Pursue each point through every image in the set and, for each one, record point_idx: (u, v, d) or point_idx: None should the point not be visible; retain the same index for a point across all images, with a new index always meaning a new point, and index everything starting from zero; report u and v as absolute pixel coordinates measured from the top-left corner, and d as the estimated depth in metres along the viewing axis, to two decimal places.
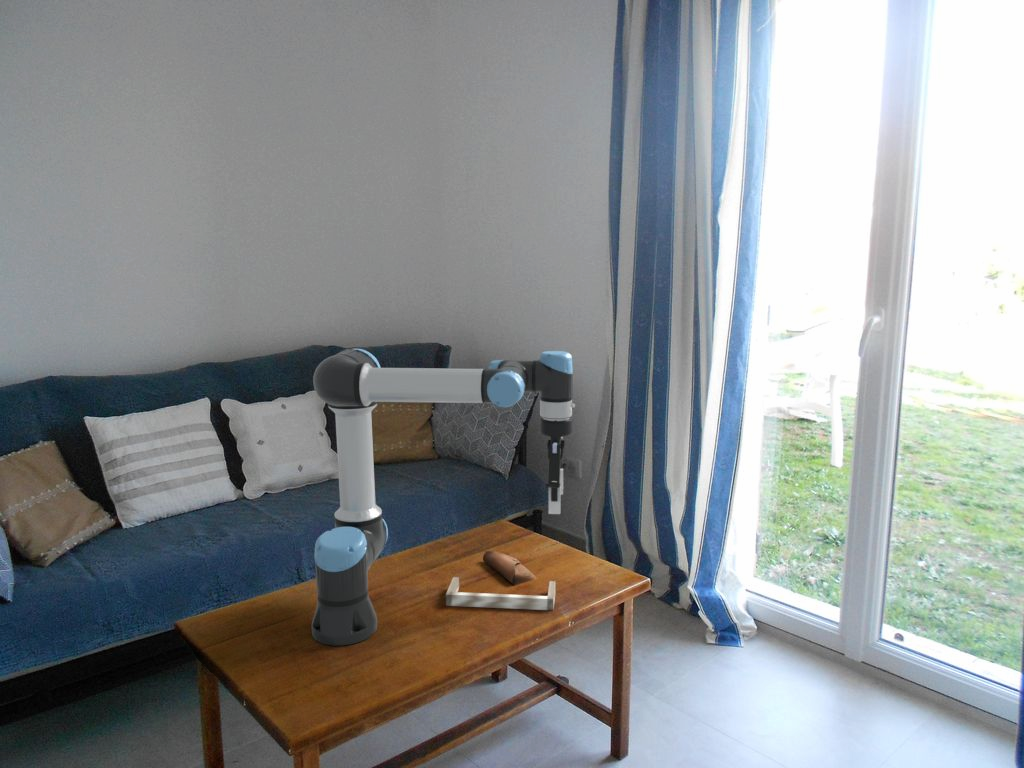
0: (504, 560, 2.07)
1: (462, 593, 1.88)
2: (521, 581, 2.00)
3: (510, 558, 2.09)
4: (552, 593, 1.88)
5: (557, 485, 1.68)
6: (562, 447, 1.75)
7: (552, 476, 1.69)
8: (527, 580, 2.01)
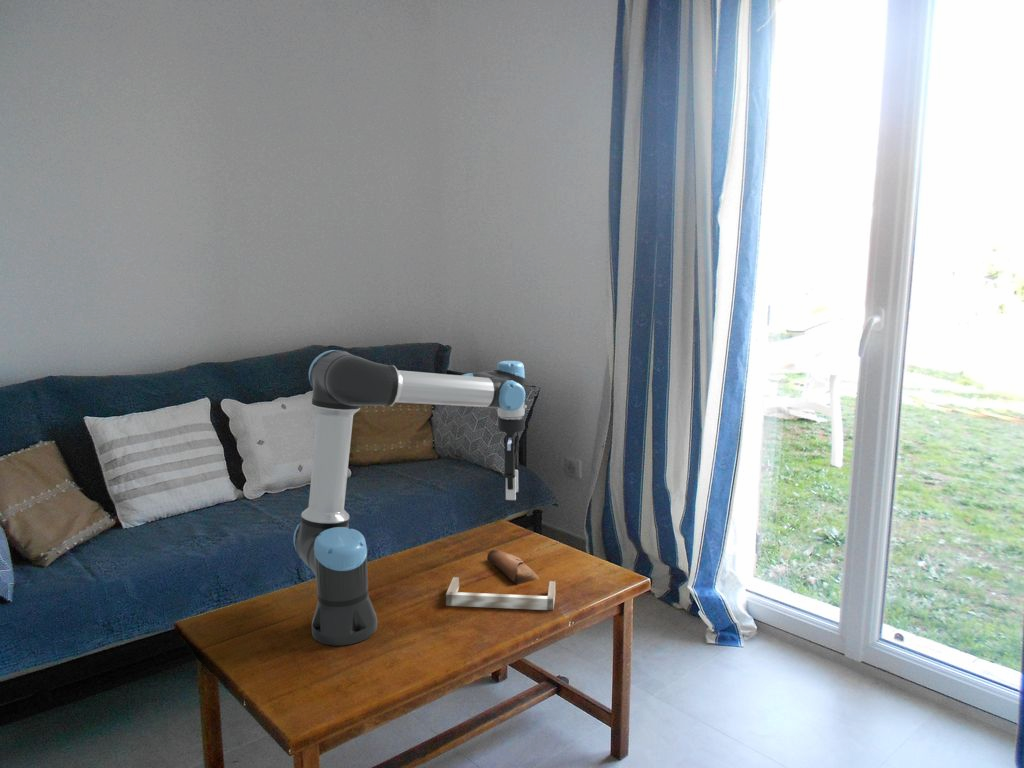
0: (508, 559, 2.07)
1: (462, 593, 1.88)
2: (524, 580, 2.01)
3: (514, 557, 2.10)
4: (552, 593, 1.88)
5: (512, 476, 2.05)
6: (516, 442, 2.08)
7: (507, 469, 2.05)
8: (529, 580, 2.01)
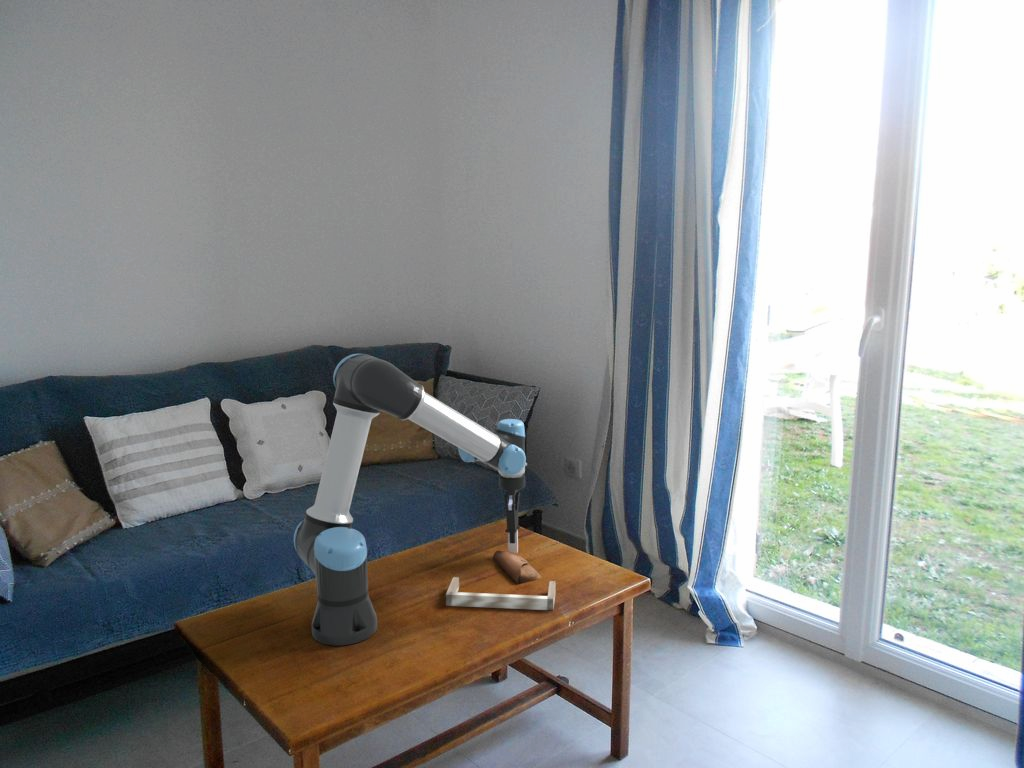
0: (512, 560, 2.08)
1: (462, 593, 1.88)
2: (527, 581, 2.01)
3: (518, 558, 2.10)
4: (552, 593, 1.88)
5: (514, 532, 2.11)
6: (517, 500, 2.11)
7: (509, 526, 2.11)
8: None
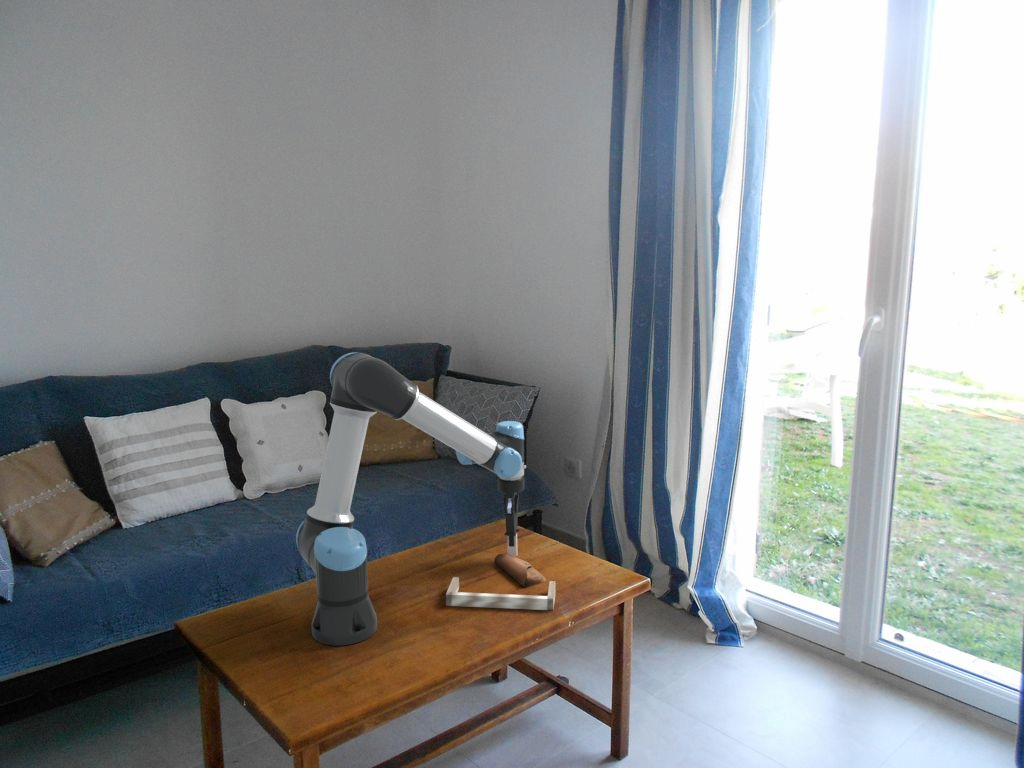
0: (516, 563, 2.05)
1: (462, 593, 1.88)
2: (533, 584, 1.99)
3: (522, 561, 2.08)
4: (552, 593, 1.88)
5: (513, 535, 2.09)
6: (516, 503, 2.09)
7: (509, 529, 2.09)
8: None
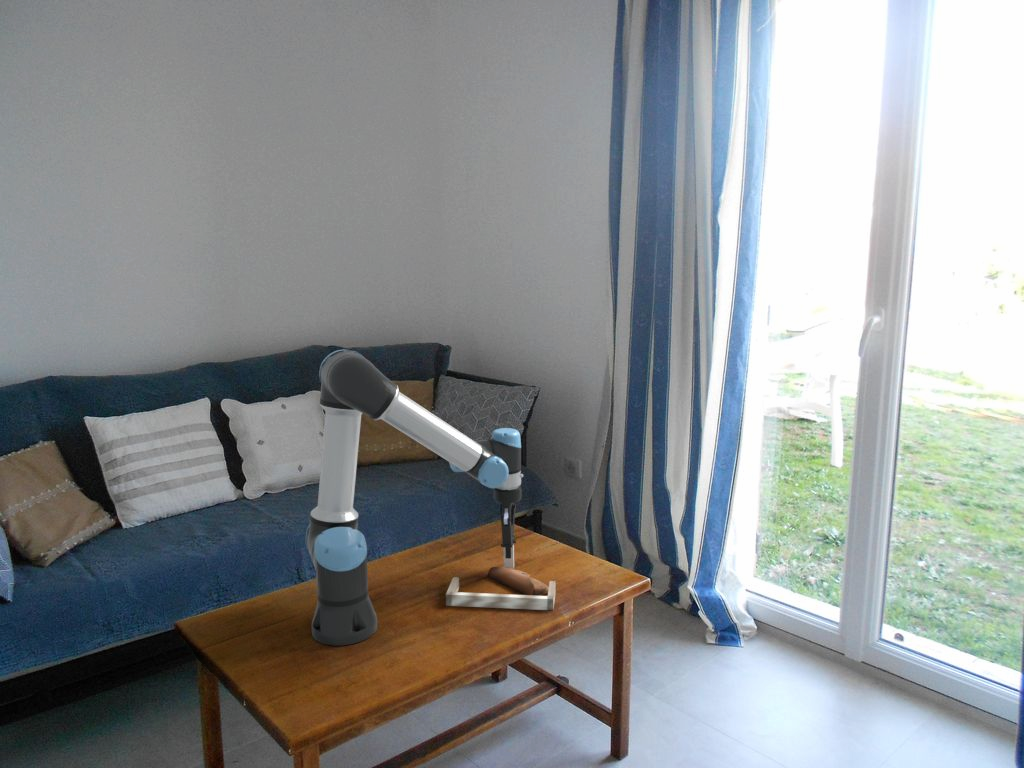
0: (516, 574, 1.99)
1: (462, 593, 1.88)
2: (540, 594, 1.94)
3: (519, 572, 2.02)
4: (552, 593, 1.88)
5: (510, 547, 2.01)
6: (513, 513, 2.01)
7: (505, 541, 2.01)
8: None
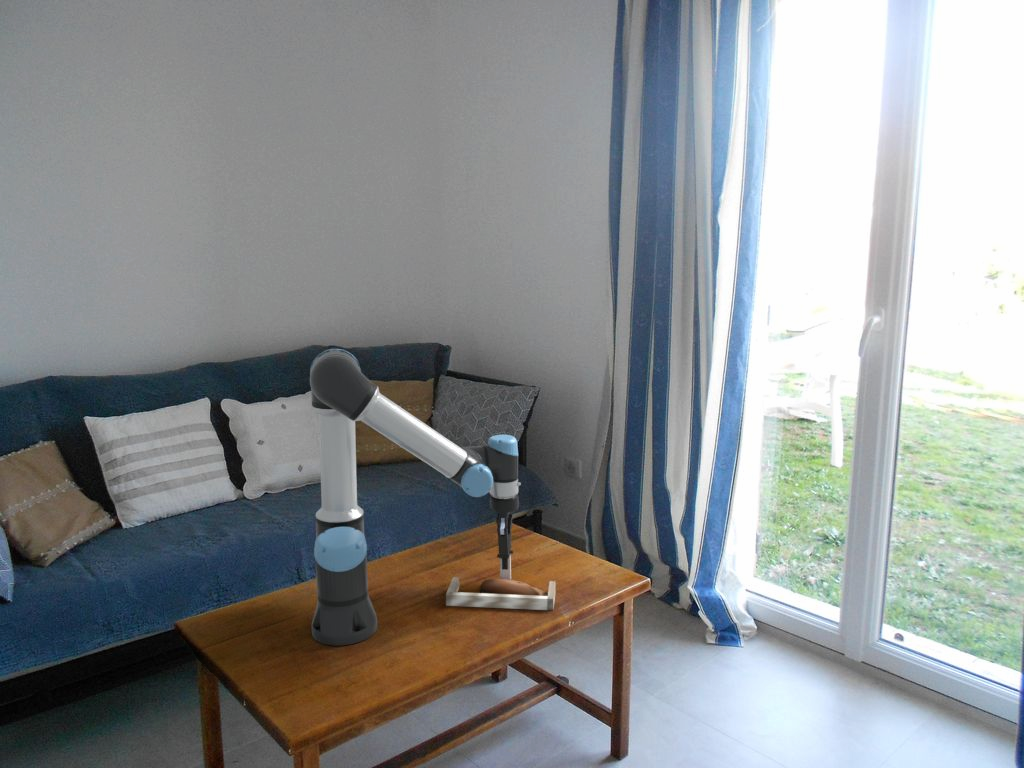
0: (514, 584, 1.93)
1: (462, 593, 1.88)
2: None
3: (514, 581, 1.96)
4: (552, 593, 1.88)
5: (506, 557, 1.94)
6: (509, 523, 1.94)
7: (502, 551, 1.94)
8: None
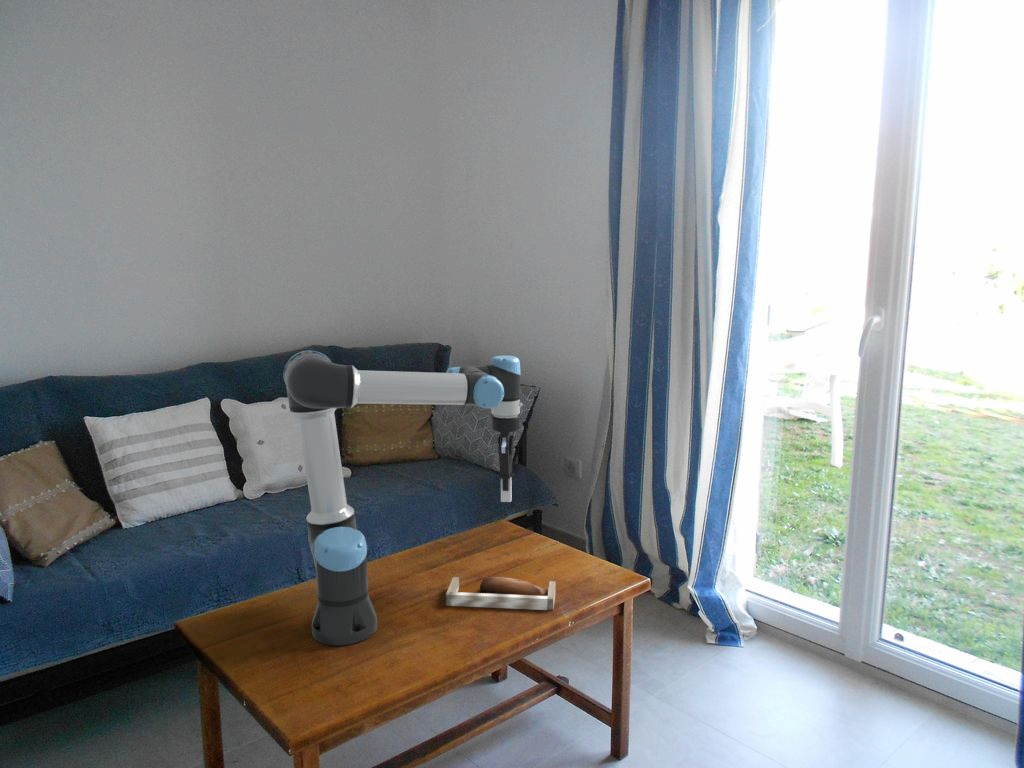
0: (515, 582, 1.93)
1: (462, 593, 1.88)
2: None
3: (514, 579, 1.96)
4: (552, 593, 1.88)
5: (507, 478, 1.95)
6: (511, 443, 1.95)
7: (503, 471, 1.95)
8: None
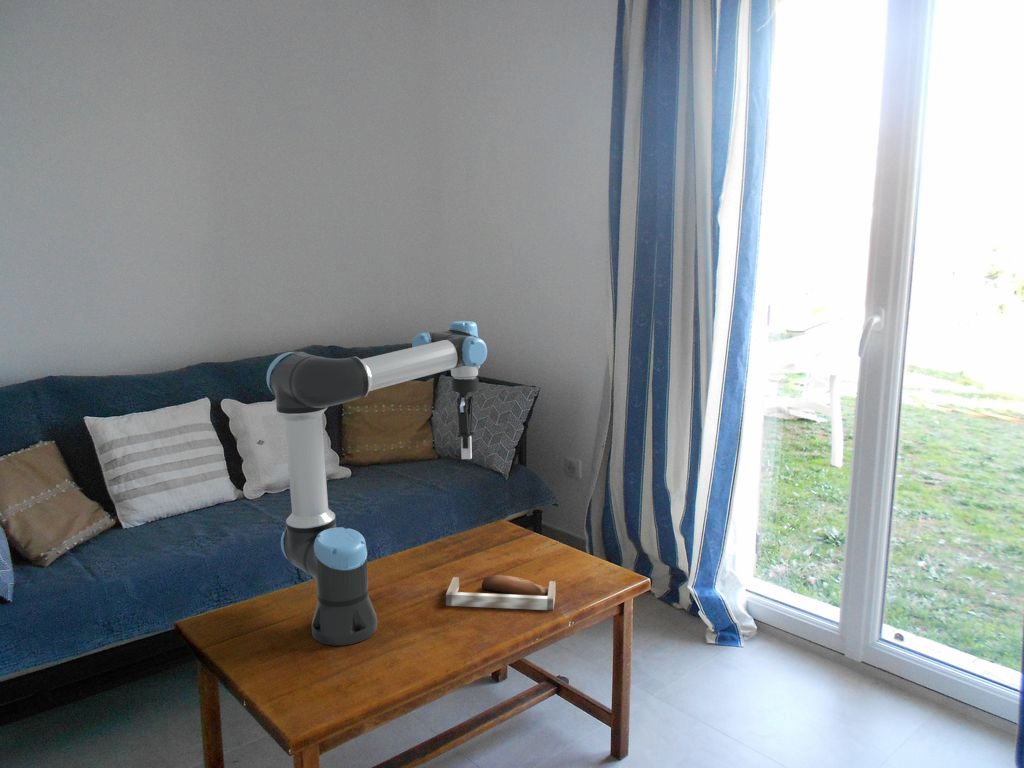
0: (516, 581, 1.94)
1: (462, 593, 1.88)
2: None
3: (516, 578, 1.97)
4: (552, 593, 1.88)
5: (466, 436, 2.08)
6: (469, 403, 2.08)
7: (462, 429, 2.07)
8: None
